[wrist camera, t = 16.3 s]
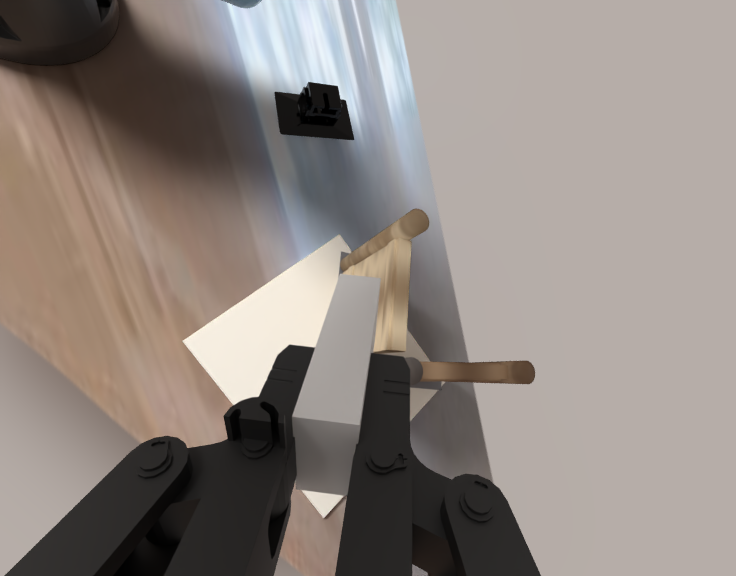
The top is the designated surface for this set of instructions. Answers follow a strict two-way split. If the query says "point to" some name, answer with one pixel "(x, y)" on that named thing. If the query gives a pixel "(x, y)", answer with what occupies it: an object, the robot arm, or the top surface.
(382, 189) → the top surface
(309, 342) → the card
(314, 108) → the black blocky piece
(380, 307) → the fixed fence section
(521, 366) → the panel
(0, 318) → the top surface
